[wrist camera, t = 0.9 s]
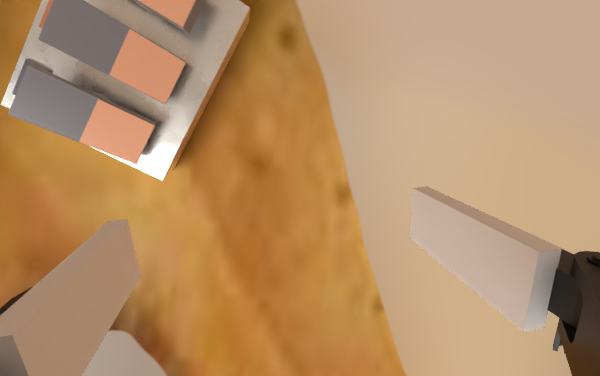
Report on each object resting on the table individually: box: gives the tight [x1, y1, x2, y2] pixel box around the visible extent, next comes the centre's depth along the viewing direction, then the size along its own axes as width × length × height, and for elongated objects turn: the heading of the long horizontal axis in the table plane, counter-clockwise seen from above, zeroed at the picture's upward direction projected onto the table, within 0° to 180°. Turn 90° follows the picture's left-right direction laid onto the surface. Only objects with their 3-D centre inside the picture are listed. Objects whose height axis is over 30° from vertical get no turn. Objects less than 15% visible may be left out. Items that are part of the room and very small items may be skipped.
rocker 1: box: [38, 0, 186, 104], centre depth 24 cm, size 9×4×2 cm, turn 58°
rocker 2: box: [8, 65, 156, 165], centre depth 25 cm, size 9×4×2 cm, turn 58°
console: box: [1, 0, 250, 180], centre depth 28 cm, size 14×18×5 cm
